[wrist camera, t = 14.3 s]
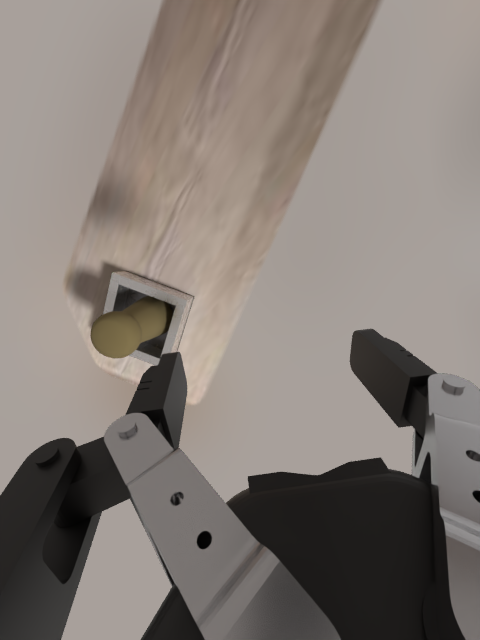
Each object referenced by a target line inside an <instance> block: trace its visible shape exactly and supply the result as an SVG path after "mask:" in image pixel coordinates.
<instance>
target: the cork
mask: <svg viewBox="0 0 480 640" xmlns="http://www.w3.org/2000/svg"><path fill="white" fill-rule="evenodd" d="M172 317H173V312H172V310H171V308H170V306H169V305H168V303H167V302H165V301H162V300H159V299H157V298H154V297H151V296H146V297H143V298H141V299H140V300H138V301H136V302H135V303H133V304H132V305H130V306H129V307H127V308H126V309H124V310H123V311H113V312H108V313H106V314H103V315H101V316H100V317H99V318H98V319H97V320H96V321H95V322H94V324H93V326H92V328H91V340H92V343H93V345H94V347H95V348H96V349H97V350H98V351H99V353H101V354H103V355H104V356H107V357H111V358H123V357H126V356H128V355H130V354H132V353H133V352H134V351H135V350H136V349H137V348H138V346H139V345H140V343H142V342H145V341H147V340H150V339H152V338H155V337H157V336H160V335H162V334H165V333H166V332H167V331H168V330H169V327H170V324H171V321H172Z"/></svg>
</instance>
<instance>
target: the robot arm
mask: <svg viewBox="0 0 480 640" xmlns="http://www.w3.org/2000/svg"><path fill="white" fill-rule="evenodd" d="M350 365H351V368H352V371H353V372H354V374H355V375H356V376H357V377H358V379H359V380H360V381H361V382H362V384H363V385H364V386H365V387H366V388H367V390H368V391H369V392H370V393H371V394H372V396H373V397H374V398H375V399H376V401H377V402H378V403H379V404H380V406H381V407H382V408H383V409H384V410H385V412H386V413H387V414H388V415H389V416H390V417H391V419H392V420H393V421H394V423H395V424H396V425H397V426H398V427H406V426H413V427H414V429H415V430H414V434H413V448H412V475H409V474H407V473H404V472H400V471H396V470H391V469H388V468H387V466H386V465H385V463H384V462H383V460H382V459H381V458H374V459H367V460H361V461H353V462H348V463H346V464H343V465H341V466H339V467H337V468H335V469H332V470H330V471H328V472H326V473H324V474H321V475H306V474H297V473H287V472H276V473H269V474H262V475H255V476H248V482H249V488H248V489H246V490H244V491H242V492H240V493H239V494H237V495H235V496H234V497H233V498H231V499H230V500H229V501H228V502H227V503H225V502H224V501H223V500H222V498H221V497H220V496H219V495H218V493H217V492H216V491H215V490H214V489H213V487H212V486H211V485H210V484H209V482H208V481H207V480H206V479H205V478H204V476H203V475H202V474H201V473H200V472H199V471H198V469H197V468H196V467H195V465H194V464H193V463H192V462H191V461H190V460H189V458H188V457H187V456H186V455H185V453H184V452H183V451H182V450H181V449H180V448H178V447H179V441H180V435H181V428H182V422H183V416H184V409H185V403H186V397H187V381H186V376H185V372H184V367H183V362H182V358H181V354H180V352H173V353H165V354H162V355H161V358H160V361H159V364H158V365H157V366H151V367H150V368H149V369H148V370H147V371H146V372H145V373H144V374H143V376H142V378H141V380H140V384H139V385H138V387H137V391H136V392H135V394H134V397H133V399H132V401H131V403H130V406H129V408H128V410H127V413H126V415H125V416H123V417H121V418H119V419H117V420H116V421H115V422H113V423H112V424H111V425H110V426H109V427H108V429H107V430H106V433H105V435H104V437H102V438H99V439H97V440H94V441H92V442H89V443H86V444H83V445H81V446H78V447H76V445H75V443H74V441H73V440H71V439H69V438H60V439H56V440H53V441H50V442H48V443H46V444H44V445H42V446H41V447H39V448H38V449H36V450H35V451H34V452H33V453H31V455H29V456H28V457H27V458H26V460H25V461H24V462H23V464H22V465H21V466H20V468H19V469H18V471H17V472H16V474H15V475H14V477H13V478H12V479H11V481H10V482H9V484H8V485H7V487H6V488H5V490H4V491H3V493H2V494H1V495H0V640H61V637H62V635H63V631H64V628H65V625H66V622H67V619H68V616H69V613H70V610H71V606H72V603H73V600H74V597H75V594H76V591H77V588H78V585H79V582H80V578H81V575H82V572H83V569H84V566H85V563H86V560H87V556H88V553H89V550H90V547H91V544H92V541H93V538H94V535H95V532H96V529H97V525H98V522H99V519H100V516H101V513H102V511H104V510H106V509H108V508H110V507H112V506H114V505H117V504H119V503H121V502H123V501H125V500H127V499H129V498H130V500H131V502H132V504H133V506H134V508H135V510H136V512H137V514H138V516H139V518H140V521H141V523H142V525H143V527H144V529H145V531H146V533H147V535H148V537H149V539H150V541H151V543H152V545H153V547H154V550H155V552H156V554H157V556H158V558H159V560H160V562H161V564H162V567H163V569H164V571H165V573H166V575H167V577H168V579H169V581H170V583H171V585H172V588H171V590H170V592H169V593H168V595H167V597H166V598H165V600H164V602H163V603H162V605H161V607H160V608H159V610H158V612H157V614H156V615H155V617H154V618H153V620H152V622H151V623H150V625H149V627H148V628H147V630H146V632H145V633H144V635H143V637H142V638H141V640H480V389H478V387H477V386H476V385H474V384H473V383H472V382H470V381H468V380H466V379H464V378H461V377H459V376H455V375H452V374H445V373H436V372H435V371H434V370H432V369H431V368H430V367H428V366H427V365H426V364H425V363H423V362H422V361H421V360H419V359H418V358H417V357H415V356H413V354H411V353H410V352H409V351H406V349H405V348H403V347H402V346H401V345H400V344H398V343H397V342H394V341H392V340H390V339H387V338H384V337H383V336H381V335H380V334H379V333H378V332H376V331H375V330H373V329H365V330H357V331H354V333H353V336H352V345H351V354H350Z"/></svg>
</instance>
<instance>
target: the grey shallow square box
mask: <svg viewBox="0 0 480 640" xmlns="http://www.w3.org/2000/svg"><path fill="white" fill-rule="evenodd" d="M146 296H151V297H154V298H157V299H159V300H162V301H165V302H167V303H168V305H169V306H170V308H171V310H172V312H173V317H172V321H171V324H170V327H169V330H168V331H167V332H166V333H165V334H162V335H160V336H157V337H155V338H152V339H150V340H147V341H145V342H142V343H140V345H139V346H138V348H137V349H136V350H135V351H134V352H133V353H132V354H130V355H129V356H132V357H134V358H137V359H140V360H142V361H145V362H148V363H150V364H153V365H155V366H157V365H158V364H159V361H160V358H161V355H162V354H165V353H173V352H177V350H178V347H179V344H180V341H181V337H182V334H183V331H184V328H185V325H186V321H187V318H188V315H189V312H190V309H191V306H192V302H193V299H194V296H191V295H189V294H186V293H183V292H181V291H178V290H175V289H173V288H170V287H167V286H165V285H162V284H159V283H157V282H154V281H151V280H149V279H146V278H144V277H141V276H138V275H136V274H133V273H130V272H128V271H120V272H112V275H111V280H110V284H109V289H108V293H107V298H106V302H105V307H104V312H103V314H106V313H108V312H113V311H123V310H124V309H126V308H127V307H129V306H130V305H132V304H133V303H135V302H136V301H138V300H140V299H141V298H143V297H146Z"/></svg>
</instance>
